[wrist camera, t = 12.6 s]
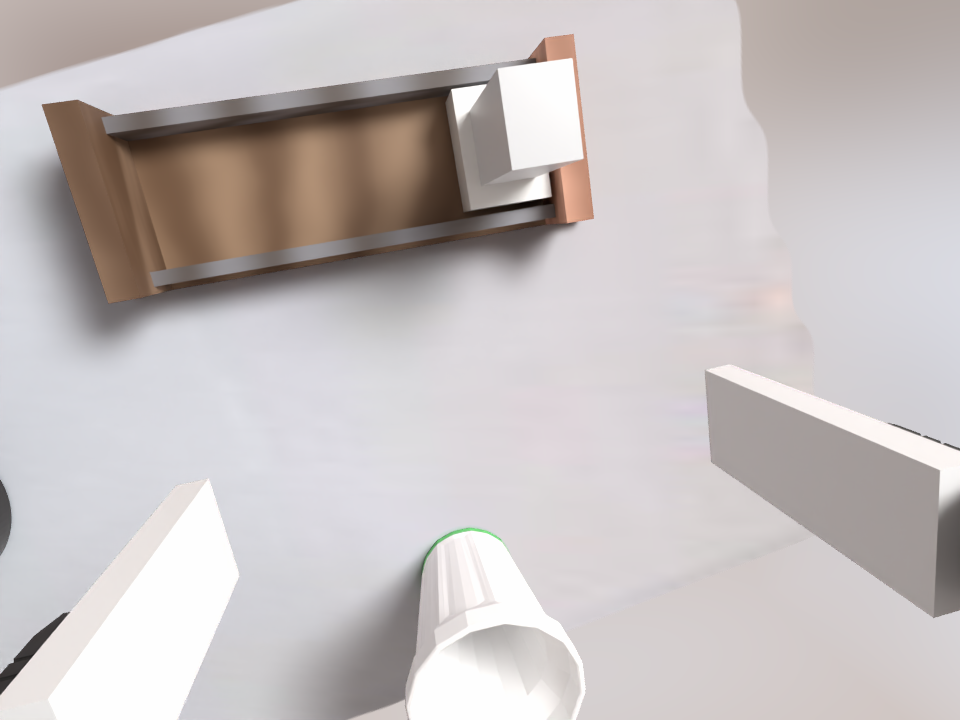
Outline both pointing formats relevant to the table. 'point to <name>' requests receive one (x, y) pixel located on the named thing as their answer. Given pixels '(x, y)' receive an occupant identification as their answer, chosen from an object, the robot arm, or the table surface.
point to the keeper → (514, 133)
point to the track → (285, 179)
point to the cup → (487, 640)
